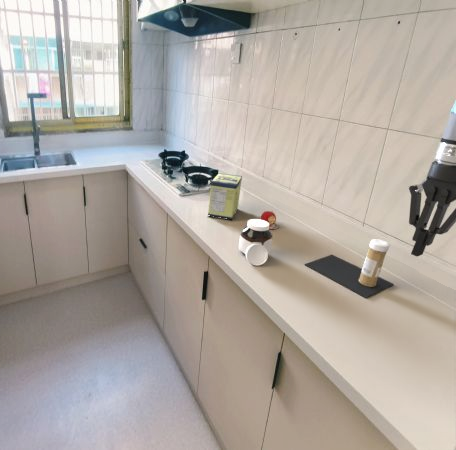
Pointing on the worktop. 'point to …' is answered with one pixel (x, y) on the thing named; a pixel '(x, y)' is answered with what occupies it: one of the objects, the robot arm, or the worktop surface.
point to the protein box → (224, 195)
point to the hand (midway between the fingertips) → (416, 254)
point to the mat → (346, 275)
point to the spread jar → (256, 241)
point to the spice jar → (373, 262)
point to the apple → (269, 219)
